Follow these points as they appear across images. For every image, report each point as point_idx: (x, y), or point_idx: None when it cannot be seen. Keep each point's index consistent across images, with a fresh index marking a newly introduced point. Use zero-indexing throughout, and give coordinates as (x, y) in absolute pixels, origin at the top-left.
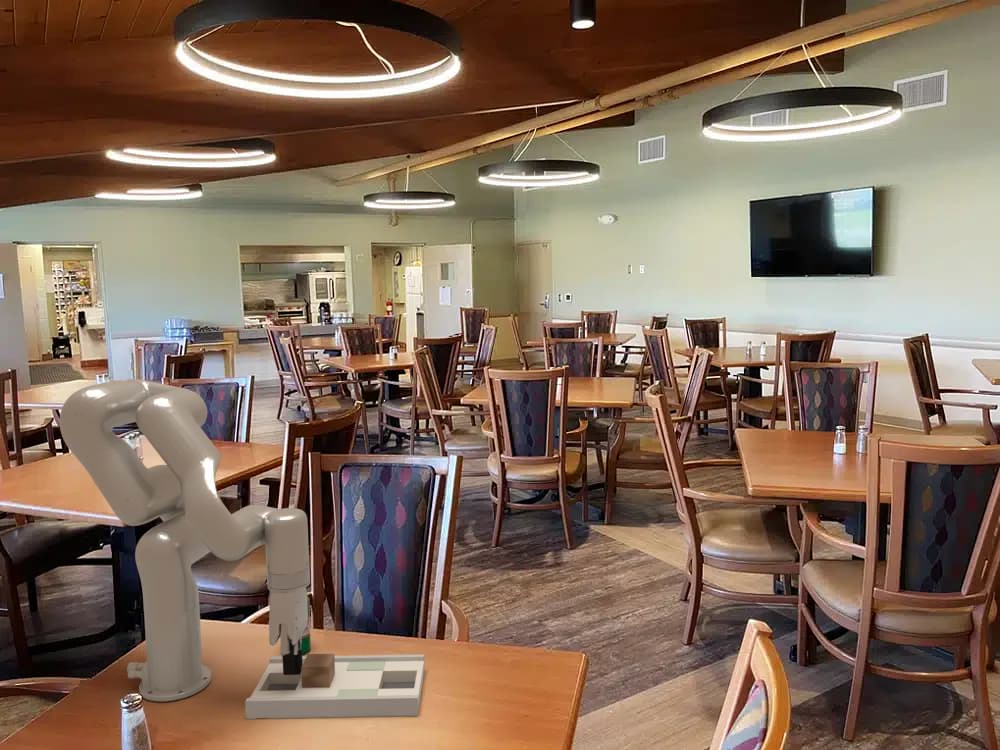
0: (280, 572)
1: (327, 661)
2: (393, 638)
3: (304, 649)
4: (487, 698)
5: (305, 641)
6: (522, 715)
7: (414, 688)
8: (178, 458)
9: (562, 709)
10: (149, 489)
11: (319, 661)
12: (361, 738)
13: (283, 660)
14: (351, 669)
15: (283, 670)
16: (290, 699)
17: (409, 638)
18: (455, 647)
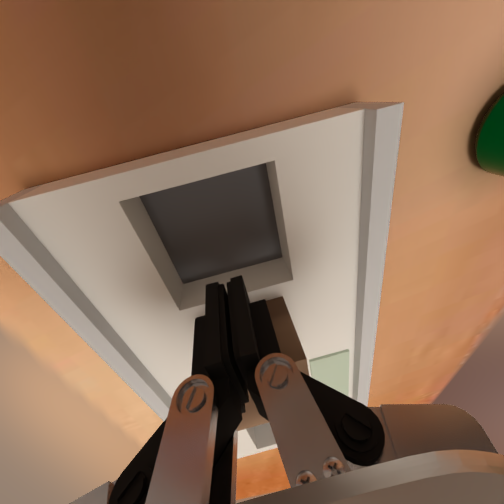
0: None
1: (258, 419)
2: (486, 324)
3: (491, 169)
4: (276, 459)
5: None
6: (247, 482)
7: (256, 449)
8: None
9: (265, 491)
10: None
11: (253, 407)
12: (122, 419)
13: (207, 336)
14: (313, 368)
15: (206, 295)
16: (96, 348)
17: (474, 345)
18: (418, 400)
